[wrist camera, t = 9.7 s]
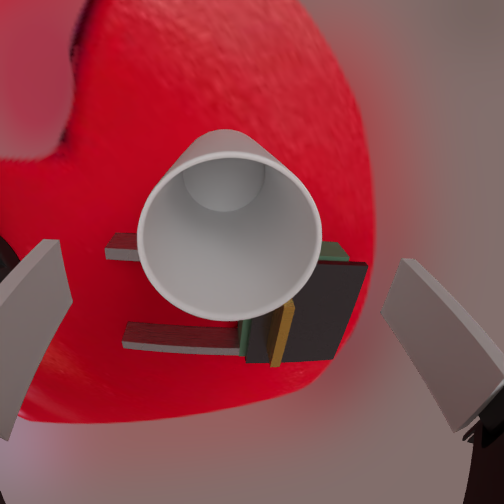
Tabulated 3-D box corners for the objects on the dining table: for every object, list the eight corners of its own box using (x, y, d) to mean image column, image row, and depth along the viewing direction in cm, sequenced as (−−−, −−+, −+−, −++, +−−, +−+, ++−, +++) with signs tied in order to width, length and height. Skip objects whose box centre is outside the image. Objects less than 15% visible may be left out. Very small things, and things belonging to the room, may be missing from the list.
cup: (257, 120, 24) (309, 132, 10) (274, 202, 28) (328, 299, 14) (170, 142, 25) (109, 185, 10) (193, 221, 28) (174, 335, 14)
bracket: (129, 328, 34) (123, 348, 31) (115, 232, 28) (104, 248, 25) (236, 334, 36) (238, 355, 33) (247, 239, 30) (251, 255, 27)
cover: (245, 358, 33) (248, 383, 29) (259, 257, 26) (266, 279, 23) (330, 354, 34) (340, 377, 31) (365, 262, 28) (381, 282, 25)
